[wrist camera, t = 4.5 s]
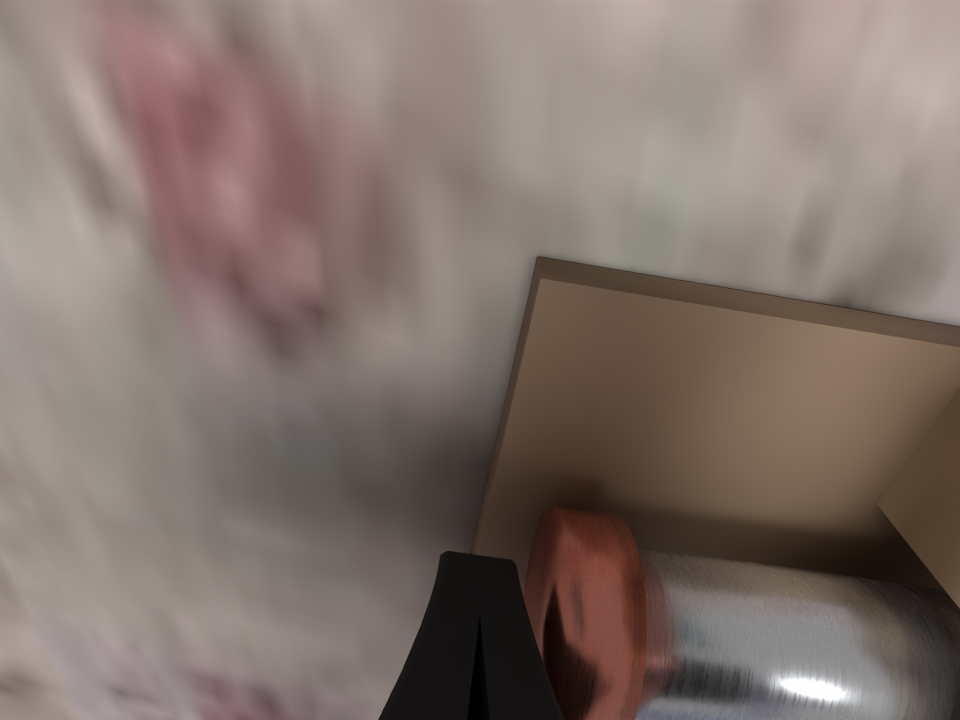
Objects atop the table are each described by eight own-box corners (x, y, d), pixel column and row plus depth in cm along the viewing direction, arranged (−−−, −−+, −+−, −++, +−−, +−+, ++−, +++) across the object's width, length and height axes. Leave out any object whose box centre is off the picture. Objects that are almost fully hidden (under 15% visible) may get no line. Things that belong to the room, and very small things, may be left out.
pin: (517, 591, 13) (523, 789, 9) (555, 464, 11) (579, 654, 7) (946, 649, 13) (1094, 855, 10) (1055, 537, 11) (1285, 746, 8)
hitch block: (452, 636, 15) (423, 987, 10) (537, 256, 10) (585, 558, 4) (970, 704, 16) (1222, 1064, 10) (1321, 387, 11) (2254, 790, 5)
